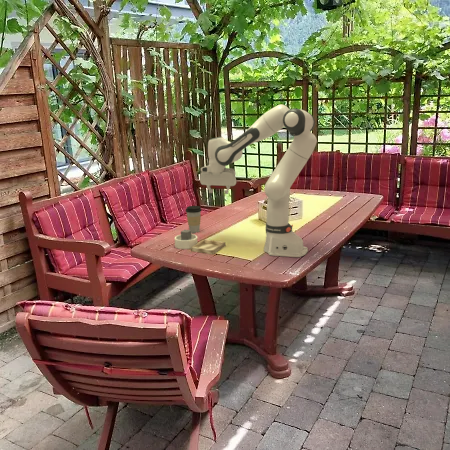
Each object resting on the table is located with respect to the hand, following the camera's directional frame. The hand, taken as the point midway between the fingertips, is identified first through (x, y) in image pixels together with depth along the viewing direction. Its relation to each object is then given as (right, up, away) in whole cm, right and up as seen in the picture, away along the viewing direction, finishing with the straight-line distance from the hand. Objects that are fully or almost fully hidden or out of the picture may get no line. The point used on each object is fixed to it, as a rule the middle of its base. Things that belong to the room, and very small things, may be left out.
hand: (218, 193), depth 255 cm
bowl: (-17, -29, -3) cm, 34 cm away
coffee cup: (-15, -21, +23) cm, 35 cm away
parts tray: (-5, -30, -8) cm, 32 cm away
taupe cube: (-17, -28, -3) cm, 33 cm away
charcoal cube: (-17, -24, -4) cm, 30 cm away
